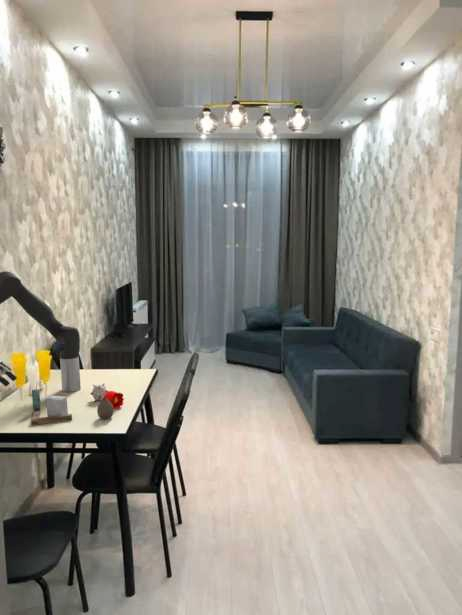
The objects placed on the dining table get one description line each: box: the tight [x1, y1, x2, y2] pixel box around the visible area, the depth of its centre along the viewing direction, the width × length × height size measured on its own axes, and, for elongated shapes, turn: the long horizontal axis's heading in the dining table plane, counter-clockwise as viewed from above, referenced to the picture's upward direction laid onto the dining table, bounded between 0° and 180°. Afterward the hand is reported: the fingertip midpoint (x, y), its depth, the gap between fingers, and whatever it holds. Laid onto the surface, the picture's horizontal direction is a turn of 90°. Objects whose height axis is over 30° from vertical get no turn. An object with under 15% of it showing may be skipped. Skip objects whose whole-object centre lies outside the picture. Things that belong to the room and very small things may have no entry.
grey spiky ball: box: [90, 383, 109, 403], centre depth 242 cm, size 9×8×10 cm
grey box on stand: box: [31, 388, 73, 426], centre depth 222 cm, size 18×17×10 cm
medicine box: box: [45, 395, 69, 417], centre depth 221 cm, size 8×4×9 cm, turn 71°
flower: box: [103, 390, 125, 410], centre depth 233 cm, size 8×8×8 cm
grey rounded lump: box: [96, 398, 115, 421], centre depth 218 cm, size 7×7×9 cm
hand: (11, 382), depth 225 cm, fingers open, 8 cm apart
